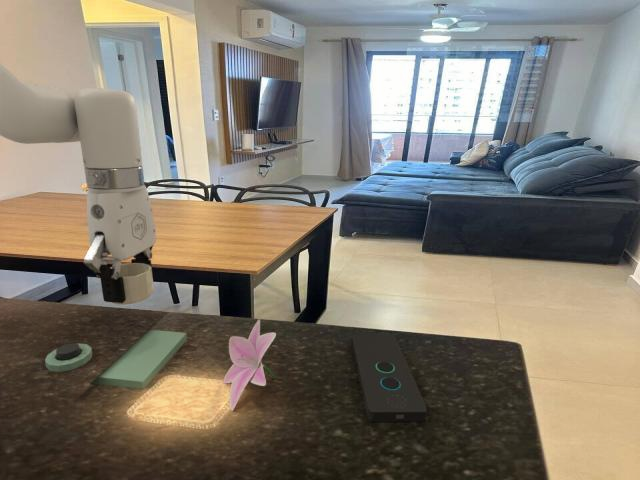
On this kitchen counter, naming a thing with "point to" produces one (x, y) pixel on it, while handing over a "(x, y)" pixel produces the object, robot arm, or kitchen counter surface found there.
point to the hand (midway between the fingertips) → (130, 290)
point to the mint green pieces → (128, 360)
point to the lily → (247, 361)
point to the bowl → (136, 282)
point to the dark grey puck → (68, 351)
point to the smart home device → (386, 380)
